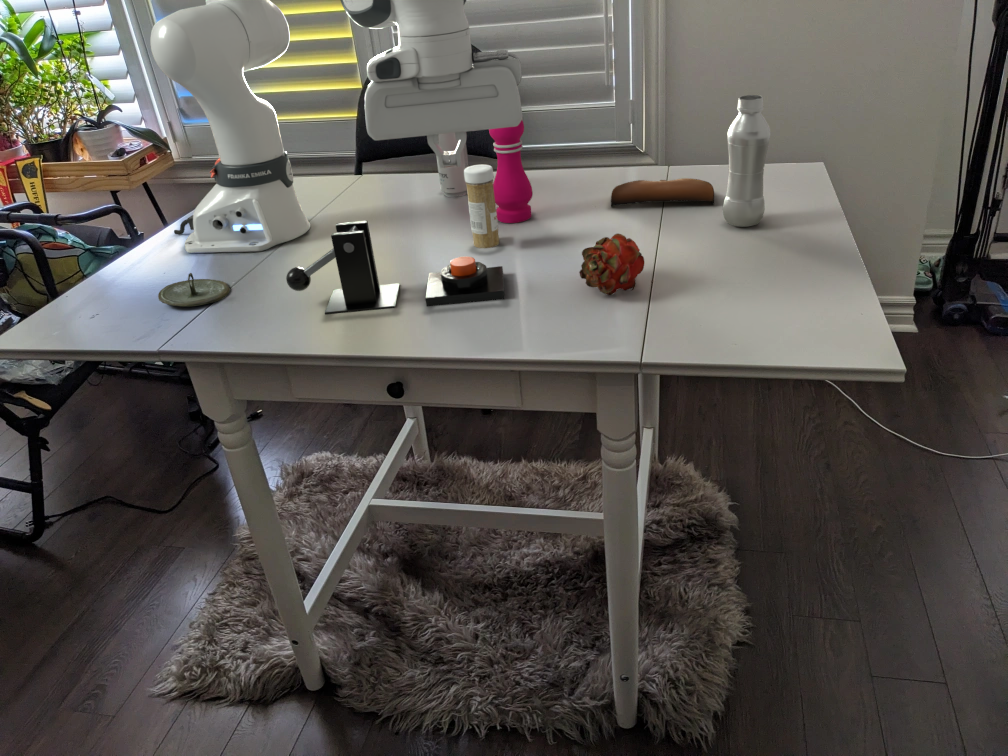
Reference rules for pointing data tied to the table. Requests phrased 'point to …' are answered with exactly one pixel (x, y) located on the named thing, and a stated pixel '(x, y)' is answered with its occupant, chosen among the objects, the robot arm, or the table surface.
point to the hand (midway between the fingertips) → (450, 166)
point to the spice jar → (482, 205)
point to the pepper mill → (510, 176)
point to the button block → (465, 286)
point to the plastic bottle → (746, 163)
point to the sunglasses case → (662, 191)
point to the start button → (463, 266)
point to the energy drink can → (452, 168)
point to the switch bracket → (358, 273)
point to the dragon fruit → (612, 264)
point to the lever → (309, 270)
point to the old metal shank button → (193, 292)
